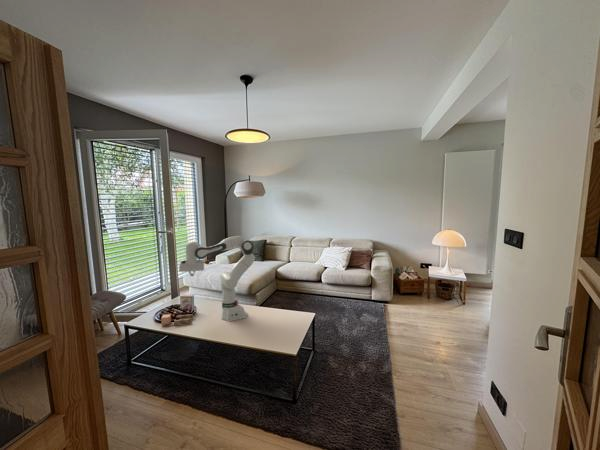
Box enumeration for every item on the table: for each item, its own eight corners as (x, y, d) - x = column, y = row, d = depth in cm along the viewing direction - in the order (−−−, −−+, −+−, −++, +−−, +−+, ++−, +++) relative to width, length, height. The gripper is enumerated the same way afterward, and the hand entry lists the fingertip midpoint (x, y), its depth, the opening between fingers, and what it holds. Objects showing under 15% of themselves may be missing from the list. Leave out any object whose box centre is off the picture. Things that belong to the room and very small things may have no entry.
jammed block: (171, 320, 213) (170, 314, 212) (169, 323, 208) (169, 317, 207) (163, 321, 211) (163, 314, 211) (161, 324, 206) (161, 317, 206)
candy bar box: (180, 313, 229) (179, 296, 228) (183, 311, 234) (182, 294, 233) (191, 313, 228) (191, 296, 227) (194, 311, 233) (194, 294, 232)
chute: (193, 318, 219) (192, 314, 219) (191, 323, 209) (190, 319, 209) (166, 321, 214) (166, 316, 214) (163, 326, 204) (163, 322, 204)
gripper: (204, 259, 224) (205, 274, 225) (180, 260, 219) (180, 275, 220) (203, 260, 218) (204, 276, 219) (178, 262, 213) (179, 277, 214)
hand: (192, 275), depth 220 cm, fingers closed
